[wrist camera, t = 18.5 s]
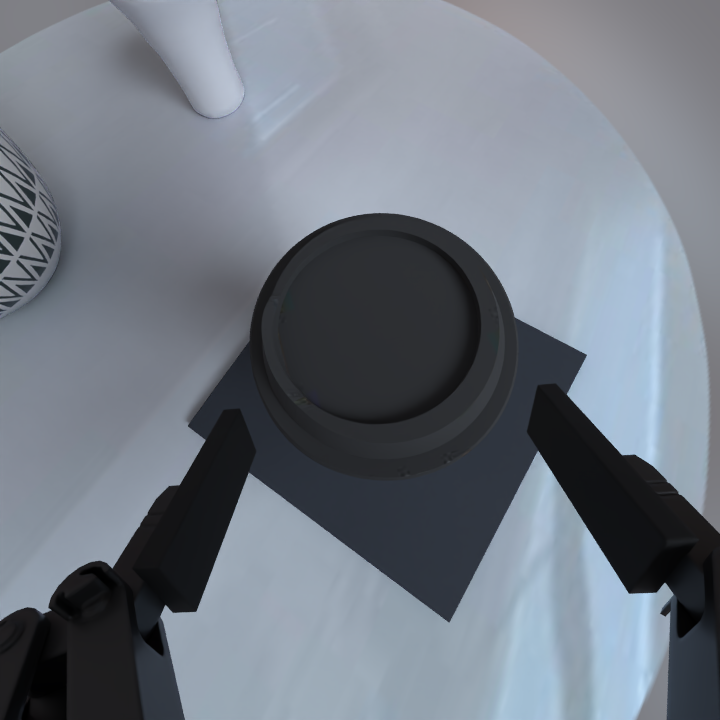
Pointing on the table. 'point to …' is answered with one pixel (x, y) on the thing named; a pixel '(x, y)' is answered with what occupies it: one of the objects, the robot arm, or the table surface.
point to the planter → (24, 229)
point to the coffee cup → (383, 347)
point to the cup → (190, 50)
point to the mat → (408, 480)
